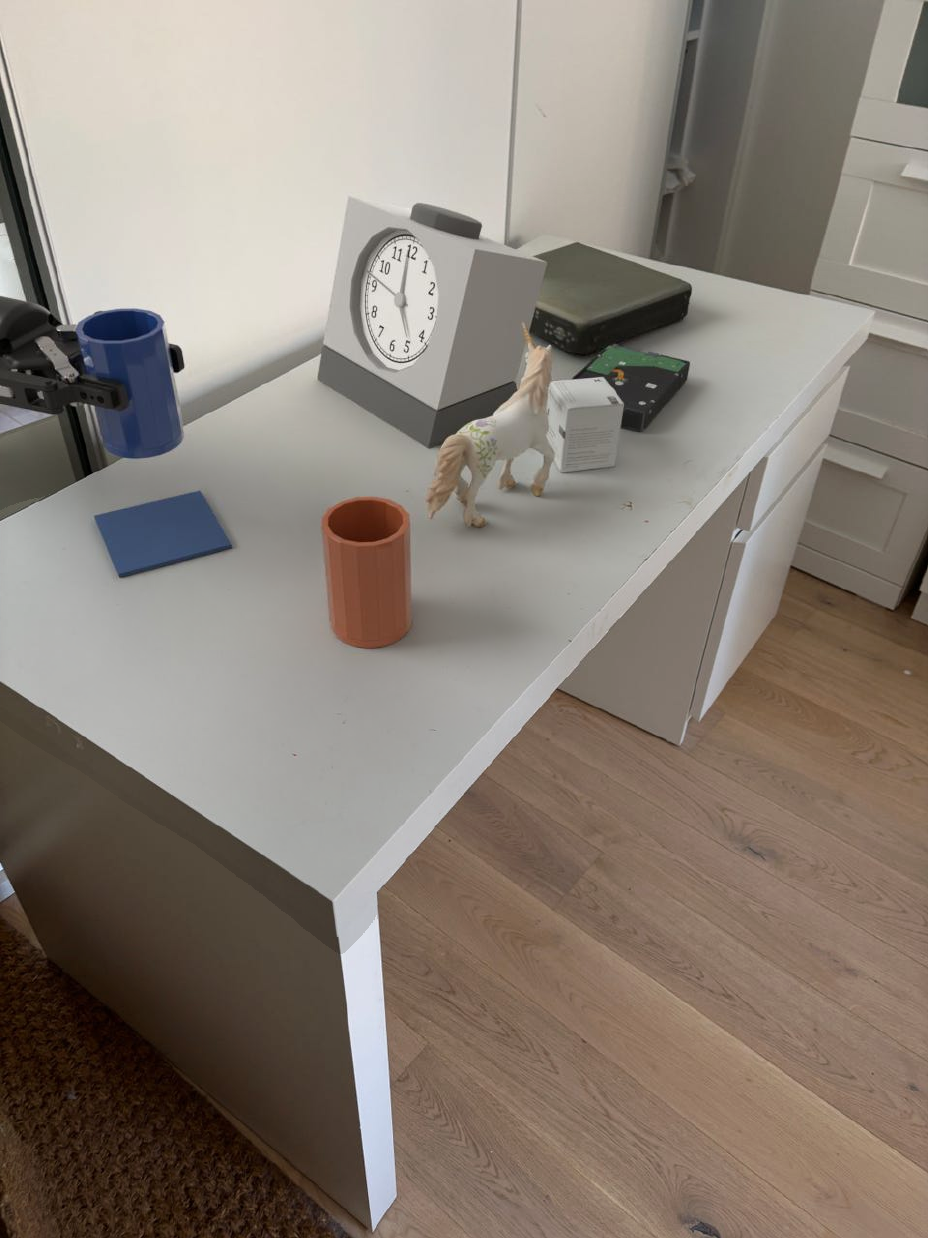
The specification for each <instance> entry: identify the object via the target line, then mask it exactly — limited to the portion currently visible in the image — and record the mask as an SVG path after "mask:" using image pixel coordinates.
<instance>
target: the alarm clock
mask: <svg viewBox="0 0 928 1238" xmlns="http://www.w3.org/2000/svg"><path fill="white" fill-rule="evenodd" d="M342 225H343V226H342V232H341V237H340V243H339V249H338V253H337V254H338V255H337V260H336V266H335V272H334V278H333V284H332V290H331V294H330V302H329V307H328V311H327V312H328V313H327V318H326V325H325V330H324V336H323V342H322V344H323V345H322V346H321V352H320V359H319V366H318V372H317V377H316V378H317V380H318V381H320V382H321V383H323V384H324V385H326V386H328V387H330V388H331V389H333V390H334V391H336V392H337V393H339V394H341V395H342V396H344V397H346V398H347V399H348V400H350V401H352V402H354V403H355V404H357V405H358V406H360V407H362V408H363V409H364V410H366V411H368V412H369V413H371V414H373V415H374V416H376V417H378V418H379V419H381V420H382V421H384V422H385V423H387V424H389V425H390V426H392V427H394V428H395V429H396V430H398V431H400V432H401V433H403V434H405V435H406V436H408V437H409V438H411V439H413V440H414V441H416V442H417V443H419V444H421V445H422V446H424V447H426V448H427V449H430V448H433V447H435V446H438V445H440V444H443V443H444V441H445V440H446V439H447V438H448V437H449V436H451V435H455V434H456V433H457V432H458V431H459V430H460V429H461V428H462V427H464V426H465V425H466V424H468V423H470V422H472V421H475V420H479V419H484V418H487V417H490V416H493V414H494V412H495V411H496V410H497V409H498V408H499V407H500V406H501V405H502V404H504V403H505V402H507V401H508V400H509V399H510V398H511V397H512V395H513V394H514V393H515V392H516V391H518V387H517V383H516V382H517V381H516V380H517V378H518V375H519V370H520V367H521V363H522V359H523V356H524V352H525V348H526V345H527V342H526V339H525V335H524V332H523V327H522V323H523V322H524V323H525V325H526V326H527V329H528V332H529V329H530V326H531V322H532V318H533V314H534V311H535V307H536V303H537V299H538V296H539V292H540V288H541V284H542V281H543V277H544V273H545V269H546V265H547V262H545V261H543V260H540V259H538V258H535V257H533V256H534V255H531V254H528V253H525V252H523V251H520V250H518V249H516V248H513V247H510V246H508V245H505V244H503V243H501V242H498V241H497V240H493V239H491V238H488V237H486V236H483V235H481V232H482V228H483V223H482V222H481V221H479V220H478V219H476V218H473V217H471V216H469V215H466V214H463V213H460V212H458V211H454V210H451V209H447V208H445V207H441V206H436V205H433V204H429V203H428V204H427V203H422V202H416V203H415V204H413V205H412V207H411V208H408V207H404V206H403V207H402V206H399V205H393V204H389V203H384V202H380V201H374V200H371V199H365V198H361V197H356V196H351V195H348V196H347V202H346V206H345V212H344V219H343V224H342ZM529 333H530V332H529Z"/></svg>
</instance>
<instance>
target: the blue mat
mask: <svg viewBox="0 0 928 1238" xmlns="http://www.w3.org/2000/svg"><path fill="white" fill-rule="evenodd" d="M93 517H94V520H95V523H96V526H97V528H98V530H99V533H100V535H101V537H102V540H103V542H104V544H105V547H106V549H107V551H108V554H109V557H110V559H111V561H112V564H113V566H114V569H115V571H116V574H117V576H118V578H123V577H127V576H130V575H134V574H138V573H142V572H145V571H149V570H153V569H156V568H160V567H165V566H169V565H172V564H175V563H180V562H183V561H187V560H191V559H194V558H199V557H202V556H206V555H210V554H214V553H217V552H221V551H224V550H229V549H232V548H233V544H232V543H231V540H230V539H229V537H228V536H227V534H226V532H225V530H224V529H223V527H222V525H221V523H220V521H219V520H218V518H217V517H216V515H215V514H214V512H213V510H212V508H211V506H210V505H209V503H208V501H207V500H206V497H205V496H204V495H203V493H202V491H201V490H196V491H191V492H186V493H183V494H178V495H174V496H171V497H166V498H162V499H158V500H153V501H149V502H145V503H141V504H138V505H133V506H128V507H123V508H120V509H115V510H111V511H108V512H104V513H100V514H95V515H93Z"/></svg>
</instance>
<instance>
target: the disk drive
mask: <svg viewBox="0 0 928 1238" xmlns="http://www.w3.org/2000/svg"><path fill="white" fill-rule="evenodd" d="M690 366H691V361H689V360H685V359H681V358H678V357H677V358H676V357H674V356H673V357H672V356H669V355H664V354H660V353H657V352H653V351H647V352H646V351H643V350H642V351H641V350H637V349H633V348H629V347H624V346H621V345H619V344H618V343H613V344H611V345H608V346H607V347H603V349H601V350H600V351H599V352H598V354H597V355H595V356H594V357H593V358H592V359H591V360H590V361H589V362H588V363H587V364H586V365H585V366H584V367H582V368H581V369H580V370H579V371H578V372H577V373H576V374H575V375H574V376H573V377H572V378H571V379H570V380H574V379H587V378H597V377H604V378H605V380H606V381H607V382H608V383H609V385H610V386H611V387H612V388H613V389H614V390H615V391H616V393H617V395H618V396H619V398H620V399H621V400H622V402H623V403H624V408H623V414H622V421H621V428H623V429H627V430H634V431H635V432H637V431H638V432H644V430H646V429H647V428H648V426H649V425H650V424H652V422H653V421H654V419H655V418H656V417H657V416H658V415H659V414H660V413H661V411H662V410H663V409H664V408H665V406H666V405H667V404H668V403H669V402H670V401H672V399H673V397H674V396H675V395H676V394H677V393H678V392H679V391H680V390H681V388H682V387H683V386H684V384H686V382H687V381H688V377H689V371H690Z"/></svg>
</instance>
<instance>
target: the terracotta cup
mask: <svg viewBox="0 0 928 1238" xmlns="http://www.w3.org/2000/svg"><path fill="white" fill-rule="evenodd" d="M320 527H321V537H322V538H321V539H322V549H323V559H324V569H325V570H324V571H325V581H326V592H327V602H328V615H329V623H330V628H331V631H332V633H333V634H334V636H335V637H336V638H337V639H338V640H340V641H341V642H343V643H344V644H346V645H349V646H351V647H355V648H360V649H378V648H382V647H386V646H391V645H393V644H394V643H396V642H398V641H399V640H401V639H402V638H404V637H405V636H406V635H407V633H408V632H409V631H410V628H411V626H412V614H413V613H412V569H411V568H412V566H411V565H412V564H411V560H412V558H411V522H410V514H409V512H408V511H407V510H406V509H405V507H404V506H402V505H401V504H399V503H397V502H395V501H394V500H391V499H388V498H384V497H377V496H356V497H352V498H351V497H350V498H348V499H344V500H341V501H339V502H337V503H335V504H333V505H331V506H330V507H328V508H327V510H326V511H325V512H324V514H323V515H322V516H321V526H320Z"/></svg>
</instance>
